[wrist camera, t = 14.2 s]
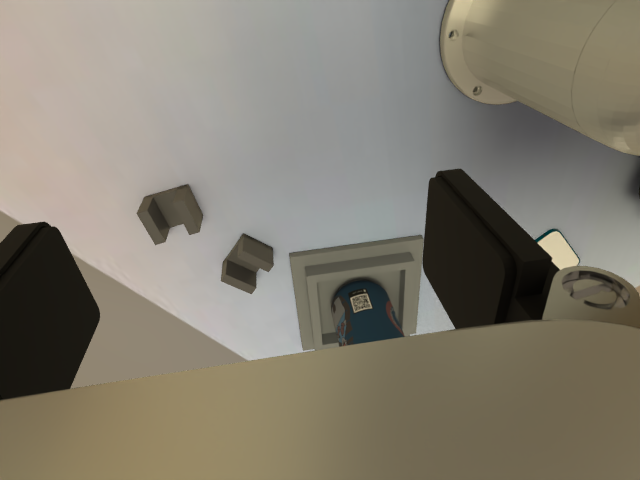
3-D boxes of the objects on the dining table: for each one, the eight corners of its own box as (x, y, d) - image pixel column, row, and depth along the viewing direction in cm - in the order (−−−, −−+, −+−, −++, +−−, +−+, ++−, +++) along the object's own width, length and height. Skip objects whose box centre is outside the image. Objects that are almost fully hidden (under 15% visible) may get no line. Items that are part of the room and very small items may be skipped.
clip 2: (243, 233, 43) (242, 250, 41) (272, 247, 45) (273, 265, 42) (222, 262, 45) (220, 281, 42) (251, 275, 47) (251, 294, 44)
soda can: (389, 310, 51) (421, 393, 42) (335, 324, 52) (355, 410, 42) (381, 268, 48) (415, 348, 38) (323, 283, 48) (342, 367, 38)
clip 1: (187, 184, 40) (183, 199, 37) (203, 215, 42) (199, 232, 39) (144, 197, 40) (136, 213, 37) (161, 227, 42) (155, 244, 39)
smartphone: (552, 223, 49) (443, 302, 54) (557, 227, 48) (446, 307, 53) (577, 258, 53) (474, 330, 57) (582, 263, 52) (477, 335, 57)
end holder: (421, 234, 47) (429, 247, 45) (414, 328, 55) (420, 343, 53) (289, 253, 46) (290, 267, 43) (302, 346, 54) (304, 361, 52)
